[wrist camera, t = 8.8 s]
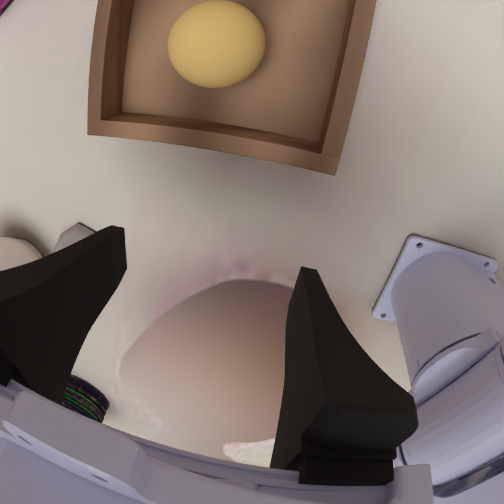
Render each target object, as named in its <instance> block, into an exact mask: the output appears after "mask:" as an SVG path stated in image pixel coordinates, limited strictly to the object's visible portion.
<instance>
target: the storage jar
mask: <svg viewBox="0 0 504 504" xmlns="http://www.w3.org/2000/svg"><path fill="white" fill-rule="evenodd" d="M61 406H63V407H65V408H67V409H70V410H72V411H74V412H76V413H78V414H81V415H83V416H85V417H88V418H90V419H92V420H95V421H97V422H100V423H102V422H103V420H104V416H105V413H106V412H105V411H106V410H107V409H108V407H109V402H108V400H107V398H106V397H105V396H104V395H103V394H102V393H101V392H100V391H99V390H98V389H96V388H95V387H94V386H92V385H91V384H89V383H88V382H86V381H85V380H83V379H81V378H79V377H77V376H74V375H71V374H70V377H69V380H68V383H67V386H66V389H65V393H64V396H63V400H62V404H61Z"/></svg>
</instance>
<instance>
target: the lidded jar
mask: <svg viewBox="0 0 504 504" xmlns="http://www.w3.org/2000/svg"><path fill="white" fill-rule="evenodd" d="M40 258H43V256H42V255H41V253H40V252H39V251H38V250H37V248H35V247H34V246H33V245H32V244H31V243H29V242H28V241H26V240H23V239H15V238H10V237H0V271H2V270H6V269H10V268H13V267H17V266H20V265H23V264H27V263H30V262H32V261H35V260H38V259H40Z"/></svg>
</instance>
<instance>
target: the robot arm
mask: <svg viewBox="0 0 504 504" xmlns="http://www.w3.org/2000/svg"><path fill="white" fill-rule="evenodd" d="M419 242H421V244H420V245H419V246H417V244H418V243H419ZM486 262H487V263H486ZM485 263H486V264H485ZM498 266H499V264H498V262H497V260H495V259H492V258H489V257H485V256H482V255H479V254H476V253H473V252H469V251H466V250H463V249H460V248H456V247H453V246H450V245H446V244H443V243H439V242H436V241H433V240H429V239H426V238H422V237H418V236H410V237H409V238H408V239H407V241H406V243H405V245H404V248H403V250H402V252H401V254H400V256H399V259H398V261H397V263H396V265H395V267H394V269H393V271H392V273H391V275H390V277H389V279H388V281H387V283H386V285H385V287H384V289H383V291H382V293H381V295H380V297H379V299H378V301H377V303H376V305H375V307H374V309H373V310H372V316H373V317H374V318H376V319H381V320H387V321H393V322H396V323H397V327H398V331H399V335H400V339H401V343H402V347H403V351H404V356H405V360H406V365H407V369H408V374H409V379H410V384H411V390H410V391H409V392H407V391H405V390H404V389H403V388H402V387H400V386H399V385H398V384H397V383H396V382H394V381H393V380H392V379H391V378H390V377H389V376H388V375H387V374H386V373H385V372H384V371H383V370H382V369H381V368H380V367H379V366H378V365H377V364H376V363H375V362H374V361H373V360H372V359H371V358H370V357H369V356H368V354H367V353H366V352H365V351H364V350H363V349H362V347H361V346H360V345H359V344H358V342H357V341H356V339H355V338H354V337H353V335H352V334H351V333H350V331H349V330H348V328H347V327H346V325H345V324H344V322H343V320H342V319H341V317H340V315H339V313H338V312H337V310H336V308H335V306H334V304H333V302H332V300H331V299H330V297H329V295H328V293H327V290H326V288H325V286H324V284H323V282H322V280H321V277H320V275H319V273H318V271H317V270H315V269H311V268H306V267H301V269H300V272H299V275H298V278H297V281H296V284H295V288H294V291H293V294H292V297H291V300H290V303H289V307H288V315H287V321H286V337H285V338H286V339H285V340H286V341H285V342H286V343H285V379H284V390H283V396H282V404H281V409H280V417H279V422H278V428H277V433H276V438H275V444H274V449H273V454H272V458H271V463H270V468H267V467H260V466H254V465H248V464H242V463H236V462H231V461H226V460H221V459H216V458H212V457H207V456H203V455H199V454H195V453H191V452H187V451H183V450H179V449H176V448H172V447H169V446H166V445H162V444H159V443H155V442H152V441H149V440H146V439H143V438H140V437H137V436H134V435H131V434H129V433H126V432H123V431H120V430H118V429H115V428H112V427H110V426H107V425H105V424H102V423H100V422H97V421H95V420H92V419H90V418H88V417H85V416H83V415H81V414H78V413H76V412H74V411H72V410H70V409H67V408H65V407H63V406H61V404H62V400H63V396H64V393H65V389H66V386H67V383H68V380H69V377H70V374H71V371H72V369H73V366H74V363H75V361H76V359H77V356H78V354H79V351H80V349H81V347H82V345H83V343H84V340H85V338H86V336H87V334H88V332H89V330H90V329H91V327H92V325H93V324H94V322H95V321H96V319H97V318H98V316H99V314H100V313H101V311H102V310H103V308H104V307H105V305H106V304H107V302H108V301H109V299H110V298H111V296H112V295H113V293H114V292H115V290H116V289H117V287H118V285H119V283H120V282H121V280H122V278H123V275H124V273H125V271H126V269H127V261H126V248H125V233H124V228H122V227H117V226H113V225H111V226H109V227H106V228H104V229H102V230H99V231H97V232H95V233H93V234H91V235H89V236H87V237H85V238H83V239H81V240H79V241H77V242H75V243H73V244H71V245H69V246H67V247H65V248H63V249H61V250H59V251H57V252H54V253H52V254H50V255H48V256H45V257H43V258H40V259H38V260H35V261H32V262H30V263H27V264H23V265H20V266H17V267H13V268H10V269H6V270H2V271H0V504H504V287H503V286H502V284H501V283H500V281H499V280H498V278H497V277H496V275H495V272H496V270H497V268H498ZM383 313H385V314H383ZM381 314H383V315H381ZM393 462H394V465H395V468H393ZM490 462H491V463H490Z"/></svg>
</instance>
